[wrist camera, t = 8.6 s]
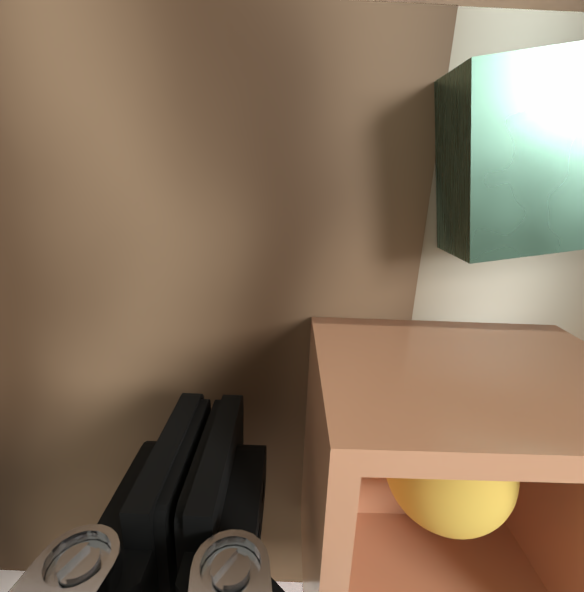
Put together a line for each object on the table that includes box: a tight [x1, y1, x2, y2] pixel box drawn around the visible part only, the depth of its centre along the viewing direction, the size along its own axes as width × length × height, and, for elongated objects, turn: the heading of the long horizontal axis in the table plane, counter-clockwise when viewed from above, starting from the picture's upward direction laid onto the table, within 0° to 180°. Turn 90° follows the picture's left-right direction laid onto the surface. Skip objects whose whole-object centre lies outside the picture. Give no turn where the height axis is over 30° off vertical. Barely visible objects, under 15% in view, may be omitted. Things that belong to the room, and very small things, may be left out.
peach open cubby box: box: [301, 317, 584, 592], centre depth 9 cm, size 7×7×6 cm
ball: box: [387, 478, 520, 539], centre depth 10 cm, size 3×3×3 cm
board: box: [0, 0, 584, 582], centre depth 12 cm, size 34×18×1 cm, turn 87°
